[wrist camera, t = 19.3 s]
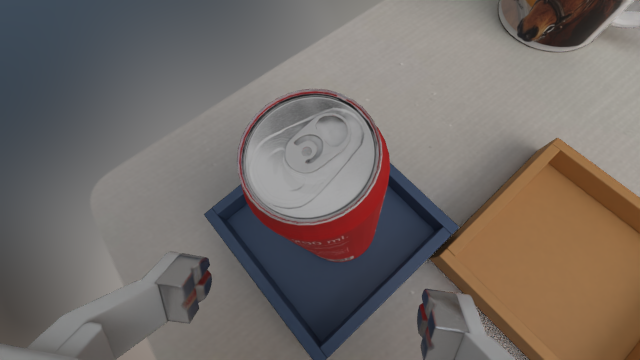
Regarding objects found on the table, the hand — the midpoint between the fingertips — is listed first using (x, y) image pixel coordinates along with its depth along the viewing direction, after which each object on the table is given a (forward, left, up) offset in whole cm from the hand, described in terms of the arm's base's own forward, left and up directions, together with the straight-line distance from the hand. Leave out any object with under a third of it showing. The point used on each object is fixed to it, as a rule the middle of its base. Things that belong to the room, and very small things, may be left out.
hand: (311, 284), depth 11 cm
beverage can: (+3, +3, -12) cm, 13 cm away
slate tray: (+3, +3, -13) cm, 13 cm away
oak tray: (+14, -11, -13) cm, 22 cm away
